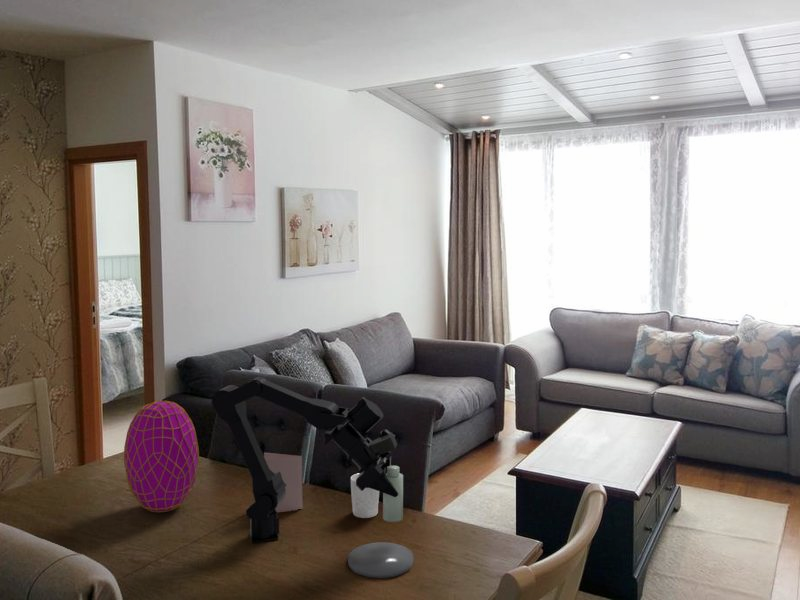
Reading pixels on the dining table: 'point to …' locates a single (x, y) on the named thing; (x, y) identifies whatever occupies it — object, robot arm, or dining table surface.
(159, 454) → the decorative egg
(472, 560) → the dining table surface
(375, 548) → the gray round disc
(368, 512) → the white cup
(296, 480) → the greeting card
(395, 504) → the pale green bottle
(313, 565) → the dining table surface
